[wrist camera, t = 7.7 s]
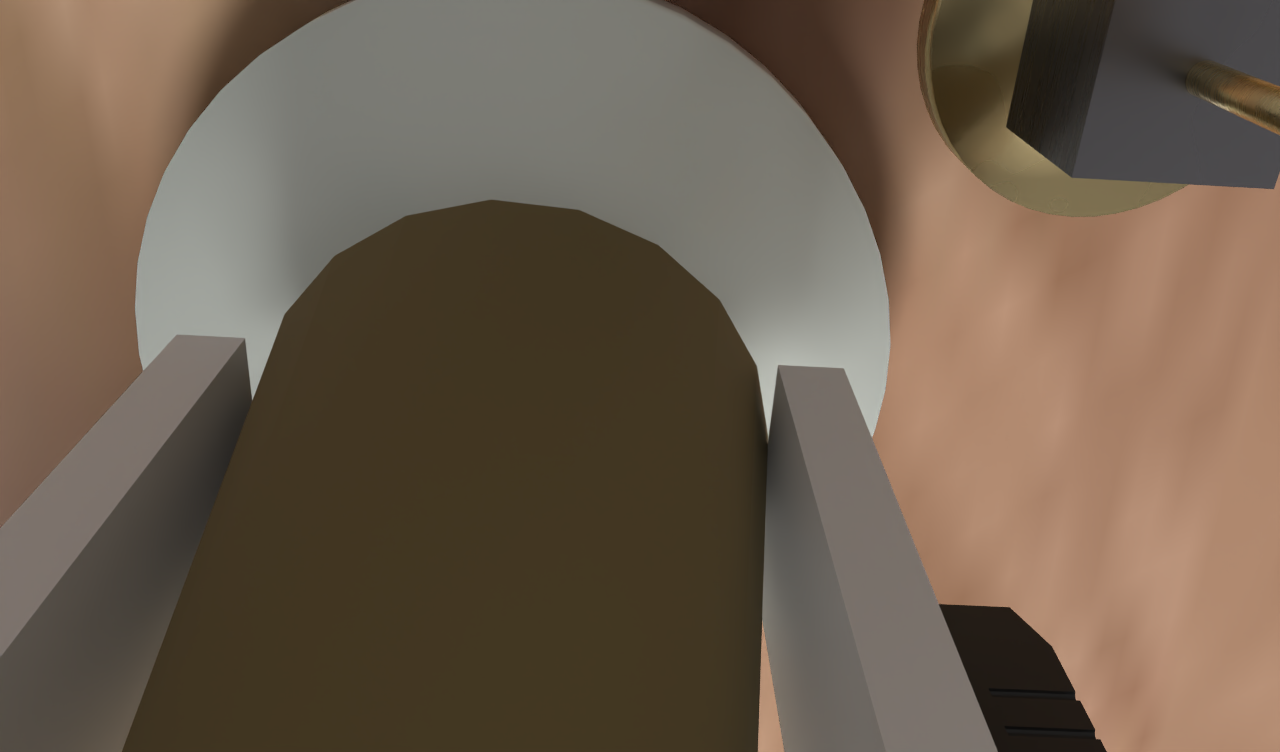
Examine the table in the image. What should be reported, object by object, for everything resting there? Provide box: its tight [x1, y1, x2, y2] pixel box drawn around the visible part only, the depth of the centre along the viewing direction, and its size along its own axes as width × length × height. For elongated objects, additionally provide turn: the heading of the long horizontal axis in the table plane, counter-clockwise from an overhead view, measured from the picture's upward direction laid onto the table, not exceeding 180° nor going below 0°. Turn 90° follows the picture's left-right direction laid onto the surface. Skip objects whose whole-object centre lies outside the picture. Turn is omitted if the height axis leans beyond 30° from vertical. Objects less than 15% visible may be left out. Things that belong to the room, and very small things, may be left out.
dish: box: [135, 0, 890, 437], centre depth 15 cm, size 10×10×1 cm
